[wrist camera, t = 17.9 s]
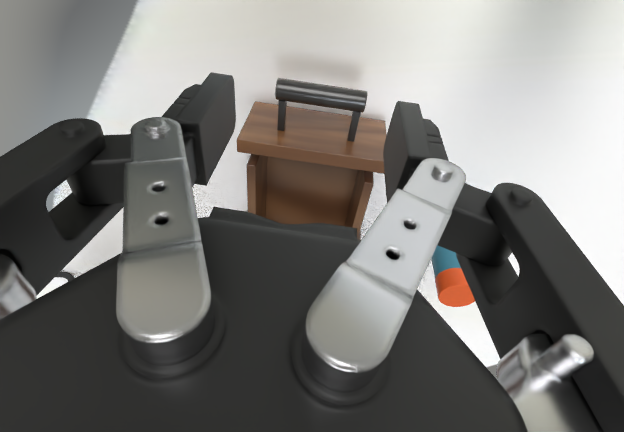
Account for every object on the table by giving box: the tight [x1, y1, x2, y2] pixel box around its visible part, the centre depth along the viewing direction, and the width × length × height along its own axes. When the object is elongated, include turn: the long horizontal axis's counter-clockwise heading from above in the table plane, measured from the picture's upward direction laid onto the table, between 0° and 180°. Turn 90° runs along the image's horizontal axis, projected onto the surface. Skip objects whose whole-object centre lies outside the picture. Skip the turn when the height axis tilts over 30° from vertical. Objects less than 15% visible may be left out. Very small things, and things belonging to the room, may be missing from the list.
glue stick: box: [431, 245, 475, 307], centre depth 37 cm, size 4×4×12 cm
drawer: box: [237, 78, 387, 238], centre depth 35 cm, size 22×12×7 cm, turn 174°
